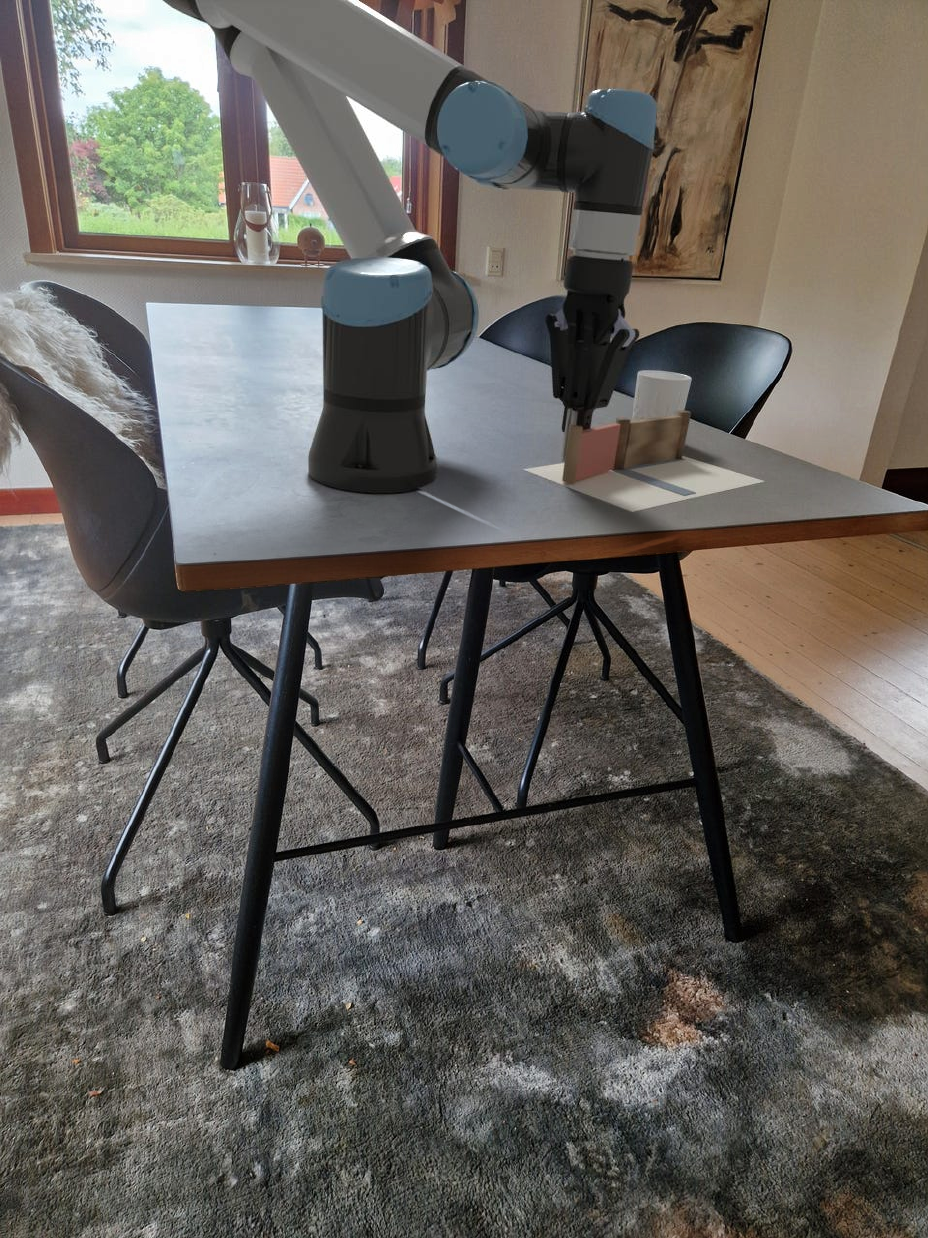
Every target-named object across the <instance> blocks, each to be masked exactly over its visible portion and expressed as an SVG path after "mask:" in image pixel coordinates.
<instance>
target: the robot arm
mask: <svg viewBox="0 0 928 1238" xmlns="http://www.w3.org/2000/svg"><path fill="white" fill-rule="evenodd" d="M162 1H163V2H164V3H165V4H167V5H168V6H169V7H171V8H172V9H174V10H176V11H178V12H180V13H181V14H183V15H185V16H188V17H191V18H193V19H194V20H197V21H200V22H203V23H204V24H207V25H208V26H209V28H210V29H211V30H212V32H213V33H214V35H215V37H216V39H217V41H218V42H219V45H220V47H221V48H222V50H223V52H224V54H225V55H226V57H227V59H228V61H229V62H230V64H231V67H232V68H233V69H234V70H235V72H236V73H238V74H240V75H243V76H246V77H250V78H253V80H254V81H255V83H256V85H257V87H258V89H259V91H260V93H261V94H262V97H263V98H264V100H265V102H266V104H267V106H268V107H269V110H270V111H271V113H272V115H273V117H274V119H275V120H276V123H277V124H278V126H279V128H280V129H281V132H282V134H283V135H284V137H285V139H286V140H287V143H288V144H289V147H290V148H291V150H292V152H293V154H294V156H295V158H296V159H297V161H298V164H299V165H300V167H301V168H302V170H303V172H304V174H305V176H306V178H307V180H308V181H309V184H310V185H311V187H312V189H313V191H314V192H315V195H316V196H317V198H318V200H319V202H320V203H321V205H322V207H323V209H324V212H325V213H326V215H327V216H328V218H329V220H330V223H331V224H332V226H333V228H334V229H335V231H336V233H337V234H338V235H337V236H338V237H339V239H340V241H341V242H342V244H343V246H344V248H345V250H346V251H347V254H348V256H349V257H350V258H348V259H344V260H340V261H337V262H335V263H333V264H331V265H330V266H329V267H328V268H327V269H326V270H325V273H324V275H323V288H322V289H323V290H322V295H321V299H320V303H321V305H320V307H321V310H322V315H321V317H322V380H323V381H322V384H323V385H322V389H323V390H322V391H323V393H322V394H323V396H322V397H323V405H322V411H321V413H320V417H319V420H318V423H317V426H316V429H315V432H314V435H313V439H312V442H311V446H310V448H309V451H308V475H309V476H310V477H311V478H312V479H313V480H315V481H316V482H318V483H320V484H323V485H325V486H328V487H332V488H334V489H340V490H343V491H345V490H346V491H350V492H357V493H358V492H359V493H370V494H371V493H372V494H389V493H391V494H392V493H393V494H394V493H404V492H411V491H416V490H419V489H421V488H422V487H426V486H428V485H430V484H431V483H433V482H435V480H436V478H437V466H438V465H437V464H438V463H437V462H438V461H437V456H436V453H435V448H434V445H433V441H432V437H431V432H430V427H429V424H428V421H427V417H426V396H427V395H426V394H427V380H428V379H427V378H428V376H427V375H428V372H429V371H430V370H436V369H441V368H444V367H447V366H448V365H449V364H450V363H453V362H454V361H456V360H457V359H458V358H460V357H461V356H462V355H463V354H464V353H465V352H466V351H467V350H468V349H469V347H470V346H471V345H472V343H473V341H474V340H475V338H476V334H477V331H478V327H479V320H480V317H479V316H480V312H479V303H478V299H477V296H476V294H475V292H474V290H473V288H472V287H471V285H470V284H469V283H468V282H467V280H466V279H465V278H463V277H462V276H461V275H460V274H459V273H457V272H456V271H454V270H452V269H450V267H449V265H448V263H447V261H446V259H445V258H444V255H443V253H442V252H441V250H440V248H439V246H438V244H437V242H436V240H435V238H434V237H433V236H431V235H428V234H426V233H425V234H424V233H421V232H419V231H417V230H416V228H415V227H414V224H413V223H412V221H411V219H410V216H409V215H408V213H407V211H406V208H404V205H403V204H402V201H401V199H400V197H399V195H398V194H397V192H396V189H395V188H394V186H393V184H392V181H391V180H390V178H389V176H388V174H387V171H386V170H385V168H384V167H383V164H382V162H381V160H380V159H379V157H378V156H377V152H376V151H375V149H374V147H373V145H372V143H371V142H370V140H369V137H368V135H367V134H366V132H365V130H364V128H363V126H362V124H361V123H360V120H359V118H358V117H357V114H356V113H355V111H354V108H353V107H352V105H351V103H350V101H349V99H351V100H352V101H354V102H355V103H358V104H359V105H360V106H362V107H364V109H365V108H366V109H367V110H369V111H370V112H372V113H373V114H375V115H376V116H378V117H380V118H382V119H383V120H384V121H387V123H389V124H391V125H393V126H394V127H396V128H397V129H399V130H401V131H403V132H404V133H405V134H407V135H409V136H410V137H412V138H413V139H415V140H417V141H418V142H420V143H422V144H423V145H425V146H427V147H428V148H430V149H431V150H433V152H435V153H436V154H438V155H440V156H441V157H443V158H445V159H446V160H447V161H448V163H449V164H450V165H451V167H453V168H454V169H455V170H457V171H458V172H459V173H461V174H463V175H465V176H466V177H468V178H470V179H472V180H475V181H476V182H477V184H479V185H482V186H488V187H493V188H497V189H502V190H509V189H515V190H516V189H518V190H529V191H532V190H533V191H545V192H546V191H549V192H551V191H552V192H561V193H574V202H573V204H574V205H573V212H572V213H573V214H572V219H571V226H570V233H569V240H568V249H569V250H571V251H572V254H571V255H569V256H568V258H566V266H565V272H564V279H563V288H564V289H565V290H566V291H567V292H566V296H565V298H564V301H563V302H562V308H561V309H560V310H558V311H557V312H556V313H554V314H546V316H545V324H546V328H547V330H548V334H549V341H550V342H549V343H550V344H549V345H550V364H551V366H550V367H551V383H552V384H551V385H552V397H553V398H554V399H557V400H558V399H559V400H560V401H561V402H562V404H563V406H564V408H563V414H562V423H561V431H562V432H563V433H564V435H563V440H562V441H563V442H562V449H561V456H560V461H561V462H563V463H564V462H565V455H566V447H567V440H568V433H569V426H570V425H578V426H582V427H583V430H585V429H589V428H592V427H591V426H592V420H593V414H594V411H596V410H597V409H603V408H607V407H608V406H609V403H610V401H611V400H612V399H611V398H612V395H613V394H614V391H615V389H616V386H617V383H618V380H619V378H620V376H621V373H622V370H623V366H624V365H625V362H626V359H627V357H628V355H629V352H630V349H631V348H632V347H633V345H634V344H635V343H636V342H637V340H638V339H639V337H640V330H639V329H637V328H632V327H631V326H630V325H629V324H628V322H627V320H625V318H626V308H625V299H626V297H627V296H628V294H629V293H630V288H631V283H632V277H633V270H634V264H633V261H631V260H630V256H634V255H635V254H636V252H637V251H636V250H637V245H638V241H639V239H638V238H639V232H640V226H641V220H642V215H643V209H644V208H643V207H644V203H645V198H646V191H647V187H648V180H649V174H650V168H651V163H652V157H653V152H654V149H655V144H654V143H655V142H654V140H655V135H656V134H655V132H656V126H657V125H656V123H657V118H658V117H657V116H658V109H659V108H658V103H657V102H656V99H654V97H653V96H652V95H651V94H649V93H645V92H643V91H639V90H638V91H637V90H632V89H622V88H610V89H604V88H602V89H596V90H593V91H591V92H590V93H589V95H588V96H587V102H586V106H584V108H583V109H584V111H576V112H574V111H573V112H565V111H564V112H561V111H560V112H559V111H550V110H549V111H548V110H537V109H535V108H534V107H531V106H529V105H528V104H526V103H525V102H523V101H521V100H520V99H518V98H517V97H515V95H513V94H512V93H511V92H509V91H508V90H506V89H504V88H503V87H502V86H500V85H498V84H496V83H494V82H493V81H489V80H488V79H486V78H485V77H483V76H481V75H480V74H478V73H476V72H475V71H472V70H470V69H469V68H467V67H465V65H463V64H461V63H460V62H458V61H457V60H455V59H453V58H452V57H450V56H448V55H447V54H445V53H443V52H442V51H440V50H439V49H437V48H435V47H434V46H433V45H432V44H429V43H428V42H426V41H424V40H423V39H421V38H419V37H418V36H416V35H415V34H413V33H411V32H409V31H408V30H407V29H405V28H403V27H402V26H400V25H399V24H397V23H395V22H394V21H392V20H390V19H389V18H387V17H385V16H384V15H382V14H380V13H379V12H378V11H376V10H374V9H372V8H371V7H369V6H368V5H366V4H364V3H362V2H361V1H359V0H162ZM348 98H349V99H348Z"/></svg>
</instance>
